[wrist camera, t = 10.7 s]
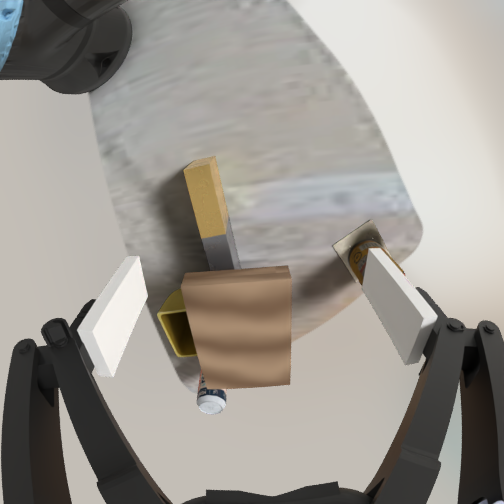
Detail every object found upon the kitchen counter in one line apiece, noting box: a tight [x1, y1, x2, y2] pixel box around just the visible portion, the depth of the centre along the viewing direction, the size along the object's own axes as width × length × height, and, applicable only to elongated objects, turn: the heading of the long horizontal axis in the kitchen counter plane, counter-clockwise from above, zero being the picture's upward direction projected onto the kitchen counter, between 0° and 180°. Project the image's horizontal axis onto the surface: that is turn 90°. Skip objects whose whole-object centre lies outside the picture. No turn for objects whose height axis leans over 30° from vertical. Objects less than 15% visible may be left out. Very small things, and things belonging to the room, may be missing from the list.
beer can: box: [197, 370, 227, 414], centre depth 48 cm, size 5×5×12 cm
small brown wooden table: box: [181, 266, 292, 389], centre depth 41 cm, size 18×12×12 cm, turn 4°
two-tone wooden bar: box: [183, 156, 241, 271], centre depth 40 cm, size 27×3×7 cm, turn 11°
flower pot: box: [157, 289, 198, 357], centre depth 43 cm, size 9×9×9 cm
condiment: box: [333, 220, 406, 285], centre depth 39 cm, size 7×8×12 cm
